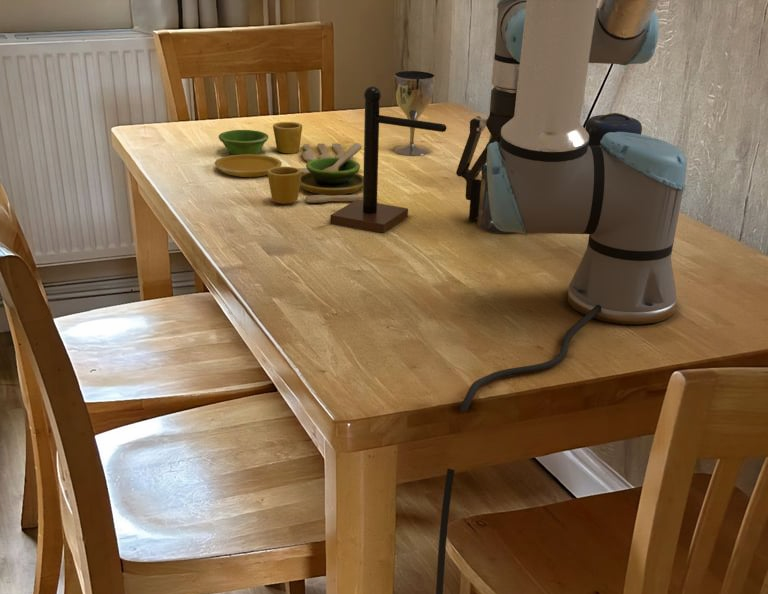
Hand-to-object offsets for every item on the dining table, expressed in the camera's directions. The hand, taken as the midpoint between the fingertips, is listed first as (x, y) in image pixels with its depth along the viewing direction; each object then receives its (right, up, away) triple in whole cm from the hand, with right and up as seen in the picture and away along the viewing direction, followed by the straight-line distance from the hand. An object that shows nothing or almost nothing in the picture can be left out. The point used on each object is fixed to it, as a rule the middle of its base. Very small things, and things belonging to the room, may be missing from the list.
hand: (502, 224), depth 181 cm
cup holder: (-19, 0, -1) cm, 19 cm away
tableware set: (-39, +15, +22) cm, 47 cm away
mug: (-1, -1, -2) cm, 2 cm away
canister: (+18, +2, +5) cm, 18 cm away
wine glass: (-15, +25, +39) cm, 49 cm away
